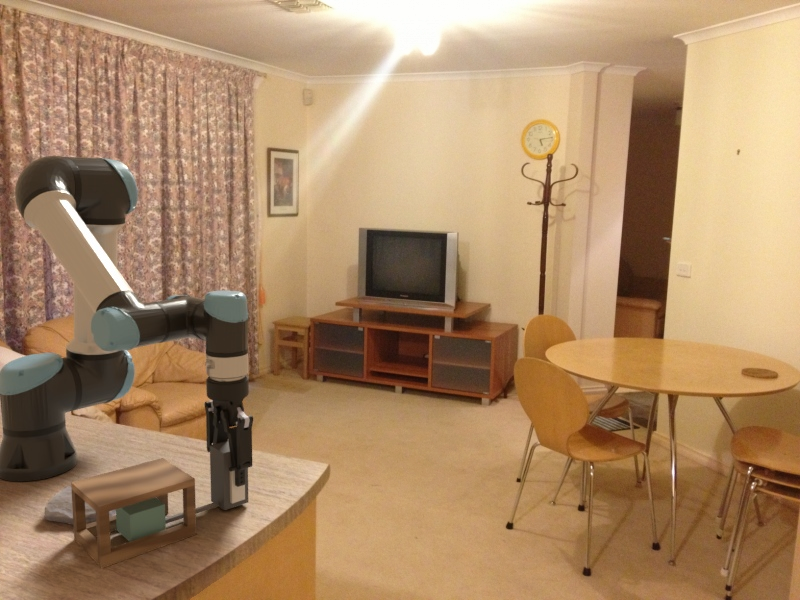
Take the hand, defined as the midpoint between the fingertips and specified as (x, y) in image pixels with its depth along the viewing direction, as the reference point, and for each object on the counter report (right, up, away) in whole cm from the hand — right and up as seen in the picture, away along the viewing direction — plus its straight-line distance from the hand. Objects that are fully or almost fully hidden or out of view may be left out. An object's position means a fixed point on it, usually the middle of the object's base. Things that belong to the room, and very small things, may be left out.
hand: (229, 495), depth 129 cm
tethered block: (-6, -2, -6) cm, 9 cm away
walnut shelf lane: (-13, -4, -12) cm, 18 cm away
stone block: (-26, -3, -4) cm, 26 cm away
